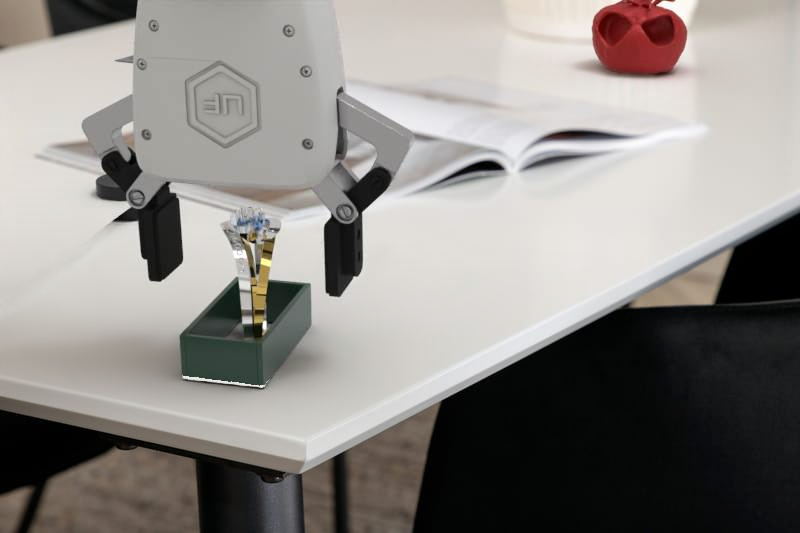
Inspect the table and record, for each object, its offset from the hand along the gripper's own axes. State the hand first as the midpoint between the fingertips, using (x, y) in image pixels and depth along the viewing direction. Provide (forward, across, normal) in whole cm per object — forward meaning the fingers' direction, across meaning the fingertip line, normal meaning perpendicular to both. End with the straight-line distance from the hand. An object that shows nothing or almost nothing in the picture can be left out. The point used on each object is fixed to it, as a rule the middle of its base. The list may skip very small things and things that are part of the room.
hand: (252, 279), depth 67 cm
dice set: (+4, -35, +71) cm, 79 cm away
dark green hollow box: (+4, 0, 0) cm, 4 cm away
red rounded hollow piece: (+5, +16, +78) cm, 80 cm away
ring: (+4, 0, 0) cm, 4 cm away
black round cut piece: (+4, -16, +20) cm, 26 cm away
